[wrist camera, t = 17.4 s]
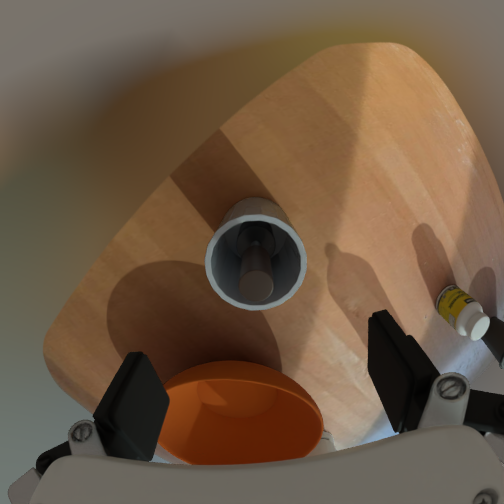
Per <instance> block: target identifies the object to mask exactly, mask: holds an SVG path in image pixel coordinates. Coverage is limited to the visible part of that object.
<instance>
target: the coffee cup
mask: <svg viewBox="0 0 504 504" xmlns="http://www.w3.org/2000/svg"><path fill="white" fill-rule="evenodd" d="M489 320H490V323H489V327H488V329H487V331H486V333H485V334H484V335H483V336H482V337H481V339H482V340H483V341H484V343H485V344H486V345H487V347H488V348H489V349H490V351H491V352H492V354H493V355H494V356H495V358H496V359H497V361H498V362H499V366H500V368H501V369H504V322H503V321H501V320H500V319H498V318H496V317H492V318H490V319H489Z"/></svg>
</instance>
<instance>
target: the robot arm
mask: <svg viewBox="0 0 504 504" xmlns="http://www.w3.org/2000/svg"><path fill="white" fill-rule="evenodd" d="M368 372H369V375H370V377H371V379H372V382H373V384H374V386H375V388H376V390H377V393H378V395H379V397H380V400H381V402H382V404H383V407H384V409H385V411H386V414H387V416H388V418H389V421H390V423H391V425H392V428H393V430H394V432H395V433H396V432H399V434H398V435H395V436H391V437H388V438H384V439H381V440H378V441H374V442H371V443H367V444H363V445H360V446H356V447H352V448H347V449H343V450H339V451H335V452H330V453H325V454H320V455H315V456H309V457H303V458H297V459H290V460H283V461H274V462H265V463H253V464H237V465H184V464H166V463H155V462H149V461H151V460H152V458H153V455H154V452H155V449H156V445H157V442H158V439H159V435H160V432H161V429H162V426H163V423H164V420H165V416H166V413H167V410H168V407H169V404H170V398H169V395H168V394H167V392H166V390H165V388H164V387H163V385H162V383H161V381H160V379H159V377H158V376H157V374H156V372H155V370H154V368H153V366H152V364H151V362H150V360H149V358H148V357H147V355H145V354H143V352H129V353H128V354H127V356H126V358H125V360H124V361H123V363H122V365H121V366H120V368H119V370H118V371H117V373H116V375H115V377H114V378H113V380H112V382H111V384H110V385H109V387H108V389H107V391H106V392H105V394H104V396H103V398H102V400H101V401H100V403H99V405H98V407H97V409H96V410H95V412H94V414H93V417H94V419H95V420H94V422H92V421H90V420H81V421H78V422H77V423H75V424H74V425H73V426H72V427H71V428H70V430H69V432H68V441H66V442H64V443H63V444H60V445H58V446H57V447H54V448H52V449H50V450H48V451H46V452H44V453H42V454H41V455H40V456H39V457H38V459H37V461H36V469H35V468H31V469H30V470H29V471H28V472H26V473H25V474H24V475H23V476H21V477H20V478H19V479H18V480H17V481H15V482H14V483H13V484H12V485H11V486H10V487H9V489H8V497H9V499H10V501H11V503H12V504H504V468H503V466H502V464H501V462H502V463H503V464H504V395H501V394H495V393H489V392H483V391H478V390H472V389H470V384H469V381H468V380H467V378H466V377H465V376H463V375H461V374H459V373H455V372H449V373H444V374H442V375H440V373H439V372H438V370H437V369H436V367H435V366H434V365H433V363H432V362H431V360H430V359H429V358H428V356H427V355H426V354H425V352H424V351H423V350H422V348H421V347H420V345H419V344H418V343H417V341H416V340H415V339H414V338H413V337H412V336H411V335H407V336H406V334H405V333H404V332H403V330H402V329H401V328H400V326H399V325H398V324H397V322H396V321H395V320H394V318H393V317H392V316H391V315H390V313H389V312H388V311H387V310H382V311H378V312H374V313H373V314H372V317H369V319H368ZM475 496H476V497H475Z"/></svg>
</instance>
